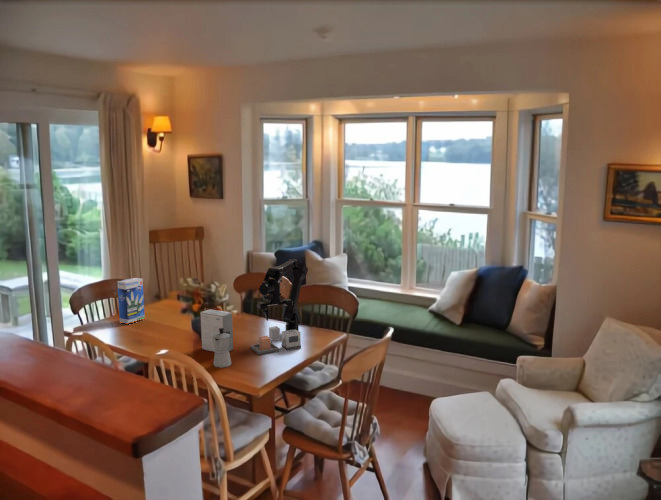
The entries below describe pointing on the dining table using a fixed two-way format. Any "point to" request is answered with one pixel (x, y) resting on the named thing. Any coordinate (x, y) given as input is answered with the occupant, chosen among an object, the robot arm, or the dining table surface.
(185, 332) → the dining table surface
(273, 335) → the grey block
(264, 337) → the terracotta block
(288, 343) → the mounted unit
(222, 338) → the coffee maker
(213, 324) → the hard drive box
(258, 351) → the charcoal tray
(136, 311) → the string lights box
